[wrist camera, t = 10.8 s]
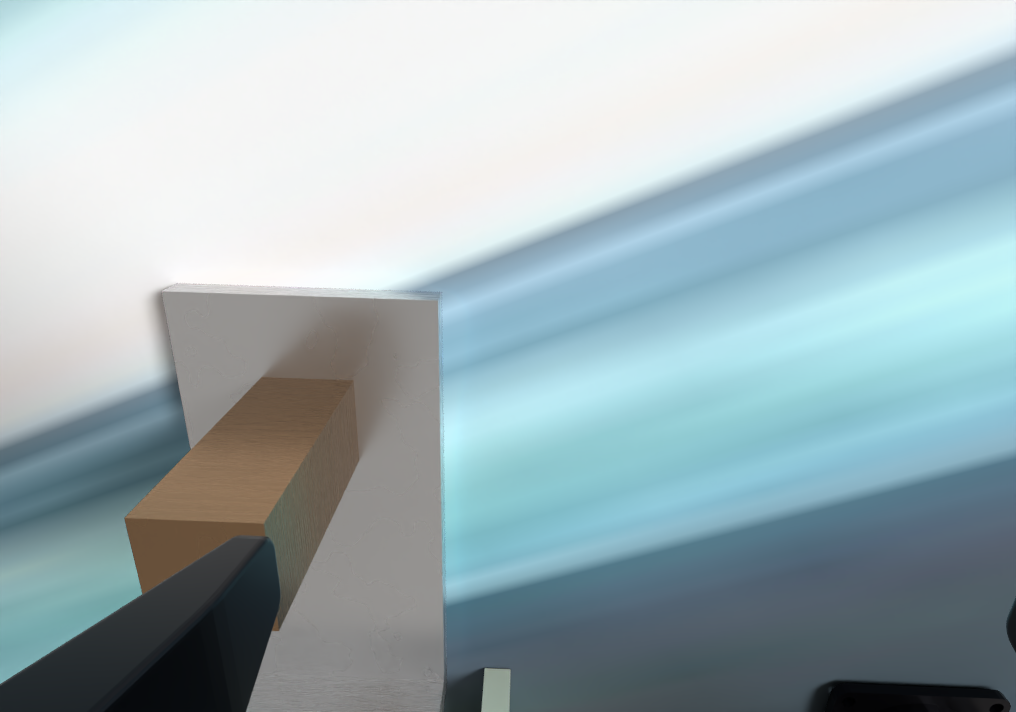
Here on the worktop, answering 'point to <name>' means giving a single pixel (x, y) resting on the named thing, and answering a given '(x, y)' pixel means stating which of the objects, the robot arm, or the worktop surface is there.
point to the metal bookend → (315, 482)
